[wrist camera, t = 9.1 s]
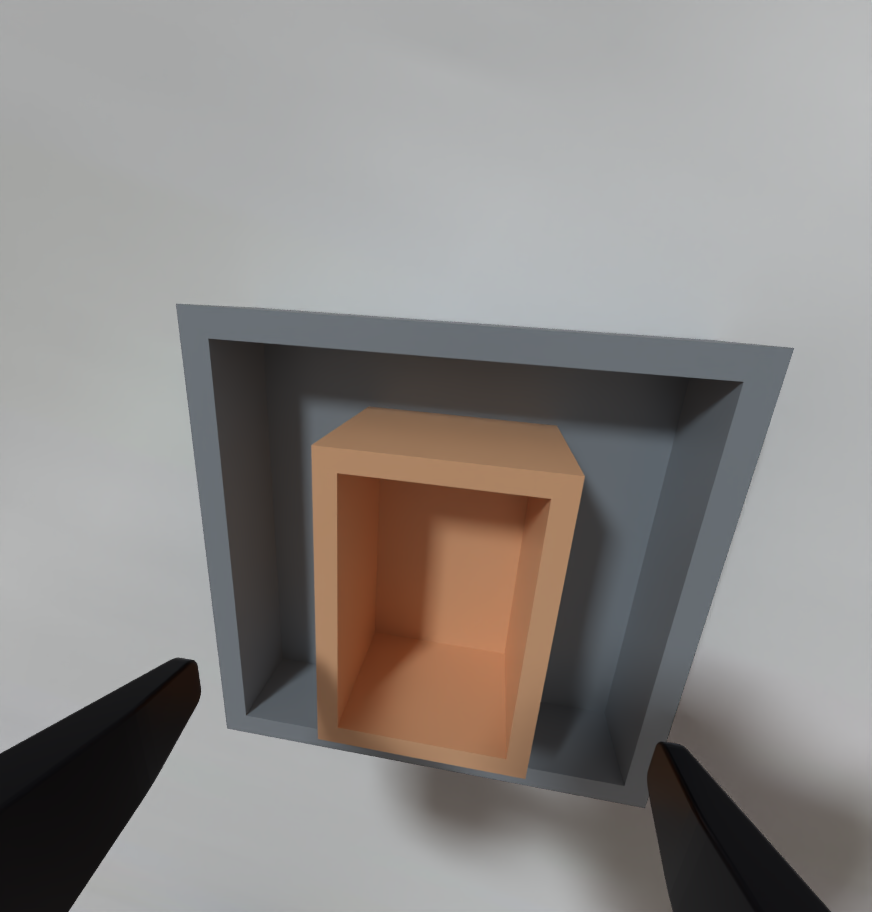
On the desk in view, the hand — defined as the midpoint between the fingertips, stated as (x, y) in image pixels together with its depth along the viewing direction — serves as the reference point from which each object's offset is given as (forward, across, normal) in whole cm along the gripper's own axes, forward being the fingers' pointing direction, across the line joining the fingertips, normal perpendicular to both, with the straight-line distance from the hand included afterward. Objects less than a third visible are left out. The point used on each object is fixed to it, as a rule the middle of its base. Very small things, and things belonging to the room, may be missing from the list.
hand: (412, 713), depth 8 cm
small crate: (+7, 0, 0) cm, 7 cm away
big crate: (+8, 0, 0) cm, 8 cm away
